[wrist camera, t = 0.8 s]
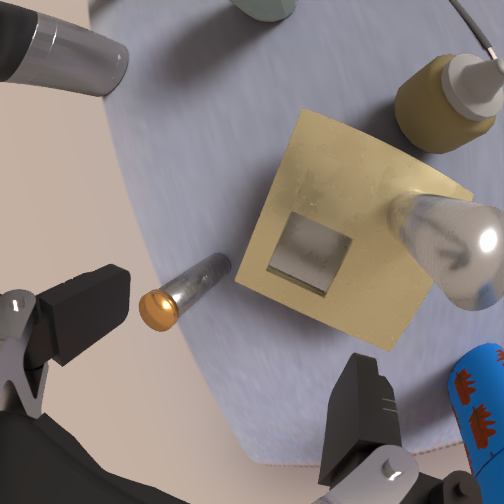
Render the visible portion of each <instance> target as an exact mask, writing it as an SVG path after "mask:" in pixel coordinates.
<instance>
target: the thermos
mask: <svg viewBox="0 0 504 504" xmlns="http://www.w3.org/2000/svg"><path fill="white" fill-rule="evenodd" d="M447 386H448V394H449V397H450V401H451V404H452V408H453V411H454V414H455V417H456V420H457V423H458V426H459V430H460V433H461V436H462V440H463V443H464V446H465V450H466V453H467V457H468V461H469V465H470V469H471V473H472V476H474V477H475V479H476V480H477V481H478V483H479V485H480V489H481V495H482V501H483V504H504V349H503V348H502V347H500V346H499V345H497V344H490V343H487V344H484V345H481V346H478V347H476V348H474V349H473V350H471V351H470V352H468V353H467V354H465V356H464V357H463V358H462V359H461V360H460V361H459V362H458V363H457V364H456V365H455V367H454V369H453V370H452V372H451V373H450V376H449V379H448V383H447Z"/></svg>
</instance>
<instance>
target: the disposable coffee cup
mask: <svg viewBox="0 0 504 504" xmlns="http://www.w3.org/2000/svg"><path fill="white" fill-rule="evenodd" d="M230 1H231V2H232V3H233V4H235V5H236V6H237V7H238V8H240V9H241V10H242V11H243V12H245V13H246V14H247V15H249V16H251V17H252V18H254V19H256V20H259V21H266V22H275V21H278V20H281V19H284V18H286V17H288V16H289V15H290V14H291V13H292V12H293V11H294V10H295V8H296V5H297V1H298V0H230Z"/></svg>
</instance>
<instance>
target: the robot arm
mask: <svg viewBox="0 0 504 504" xmlns="http://www.w3.org/2000/svg"><path fill="white" fill-rule="evenodd" d="M127 65H128V52H127V49H126V47H125V46H124V45H122V44H120V43H118V42H116V41H114V40H111V39H109V38H107V37H105V36H102V35H100V34H98V33H95V32H93V31H90V30H88V29H85V28H83V27H80V26H77V25H75V24H72V23H69V22H67V21H64V20H61V19H58V18H55V17H52V16H49V15H46V14H42V13H39V12H36V11H33V10H29V9H26V8H23V7H20V6H16V5H13V4H9V3H5V2H1V1H0V82H8V83H18V84H27V85H34V86H41V87H48V88H54V89H60V90H67V91H71V92H76V93H82V94H86V95H91V96H96V97H100V96H103V95H106V94H108V93H109V92H111V91H112V90H113V89H114V88H115V87H116V86H117V84H118V83H119V82H120V80H121V79H122V77H123V75H124V73H125V71H126V68H127ZM130 280H131V277H130V273H129V271H127V270H125V269H123V268H120V267H118V266H116V265H114V264H108V265H106V266H104V267H102V268H99V269H97V270H95V271H93V272H87V273H83V274H81V275H79V276H76V277H74V278H73V279H70V280H68V281H66V282H65V283H61V284H59V285H57V286H55V287H53V288H51V289H48V290H46V291H44V292H42V293H40V294H38V295H36V296H35V295H34V294H33V293H31V292H29V291H26V290H21V289H17V290H11V291H8V292H6V293H4V294H3V295H2V294H0V504H190V503H187V502H185V501H183V500H180V499H178V498H176V497H174V496H171V495H169V494H167V493H165V492H163V491H161V490H159V489H157V488H155V487H151V486H148V485H144V484H141V483H138V482H135V481H132V480H129V479H126V478H123V477H120V476H117V475H114V474H111V473H109V472H107V471H105V470H104V469H102V468H101V467H100V466H99V465H98V463H97V462H96V461H94V459H93V458H92V457H91V456H90V455H89V454H88V453H87V451H86V450H85V449H84V448H83V447H82V446H81V444H80V443H79V442H78V441H77V440H76V438H75V437H74V436H72V435H71V434H70V433H69V432H67V431H66V430H65V429H64V428H62V427H61V426H60V425H59V424H58V423H56V422H55V421H54V420H53V419H52V418H50V417H49V416H48V415H47V414H46V413H43V414H41V406H42V399H43V393H44V388H45V383H46V378H47V373H48V362H47V361H48V360H50V359H51V358H52V359H53V360H54V361H56V362H57V363H58V364H60V365H61V366H62V367H63V366H64V365H66V364H67V363H68V362H70V361H71V360H72V359H74V358H75V357H76V356H78V355H79V354H80V353H82V352H83V351H84V350H86V349H87V348H89V347H90V346H91V345H93V344H94V343H95V342H97V341H98V340H100V339H101V338H102V337H104V336H105V335H106V334H108V333H109V332H110V331H112V330H113V329H115V328H116V327H117V326H119V325H120V324H121V323H123V322H124V320H125V319H126V317H127V315H128V311H129V297H130ZM394 401H395V398H394V392H393V388H392V386H391V385H390V383H389V382H388V380H387V379H386V377H384V376H380V375H379V373H378V367H377V361H376V359H375V358H372V357H368V356H365V355H361V354H358V353H353V354H352V355H351V357H350V358H349V360H348V362H347V364H346V366H345V368H344V370H343V372H342V374H341V375H340V377H339V379H338V381H337V383H336V384H335V386H334V388H333V390H332V393H331V396H330V399H329V403H328V412H327V422H326V431H325V439H324V447H323V454H322V461H321V468H320V474H319V481H318V484H321V485H325V486H330V489H329V492H328V493H326V494H325V495H324V496H322V497H320V498H319V499H317V500H316V501H315V502H313V503H312V504H483V501H482V495H481V489H480V485H479V483H478V481H477V480H476V479H475V477H474V476H472V475H471V474H469V473H468V472H465V471H454V472H452V473H450V474H449V475H448V476H447V477H445V478H444V479H443V480H440V479H437V478H434V477H431V476H429V475H426V474H423V473H421V472H419V467H418V463H417V461H416V460H415V458H414V456H413V455H412V454H411V453H410V452H408V451H407V450H405V449H404V448H402V444H401V436H400V429H399V422H398V415H397V412H396V410H397V409H396V403H395V402H394Z"/></svg>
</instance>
